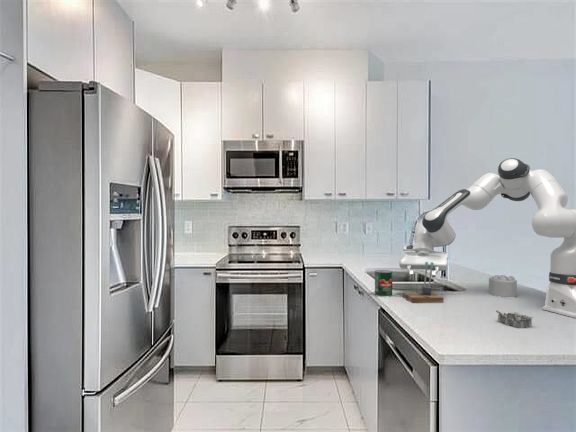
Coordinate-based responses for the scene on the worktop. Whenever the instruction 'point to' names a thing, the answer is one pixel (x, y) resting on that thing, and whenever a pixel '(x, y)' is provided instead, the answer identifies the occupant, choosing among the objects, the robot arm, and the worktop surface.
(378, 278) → the canned tomato
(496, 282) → the lumpy-topped squat cylinder
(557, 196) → the robot arm
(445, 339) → the worktop surface
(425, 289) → the tongs
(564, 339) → the worktop surface
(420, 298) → the board
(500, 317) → the egg carton
